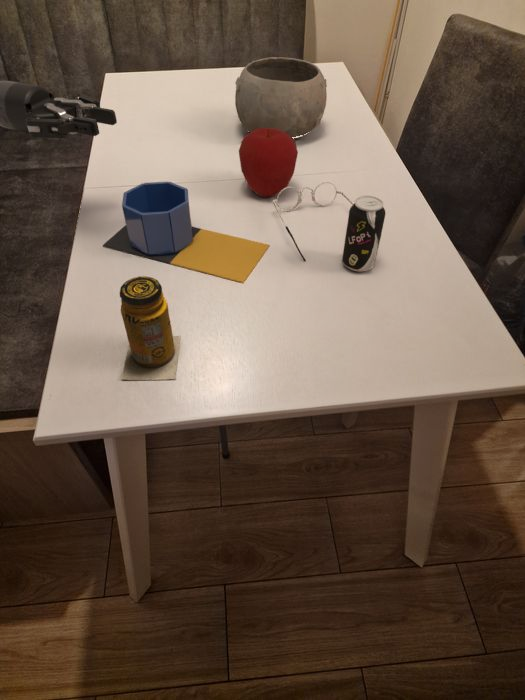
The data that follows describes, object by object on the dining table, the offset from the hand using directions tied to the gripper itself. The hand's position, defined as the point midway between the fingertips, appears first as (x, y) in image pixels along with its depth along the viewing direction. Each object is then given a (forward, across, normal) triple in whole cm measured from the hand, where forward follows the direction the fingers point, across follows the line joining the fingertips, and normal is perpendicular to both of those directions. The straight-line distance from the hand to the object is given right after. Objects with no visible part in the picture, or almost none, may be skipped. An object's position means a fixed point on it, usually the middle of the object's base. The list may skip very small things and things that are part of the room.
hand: (105, 123), depth 77 cm
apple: (+18, +25, +20) cm, 37 cm away
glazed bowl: (+7, 0, +20) cm, 21 cm away
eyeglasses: (+33, +15, +20) cm, 42 cm away
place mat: (+12, 0, +20) cm, 23 cm away
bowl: (+9, +56, +20) cm, 60 cm away
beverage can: (+43, +7, +20) cm, 48 cm away
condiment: (+21, -27, +20) cm, 40 cm away
